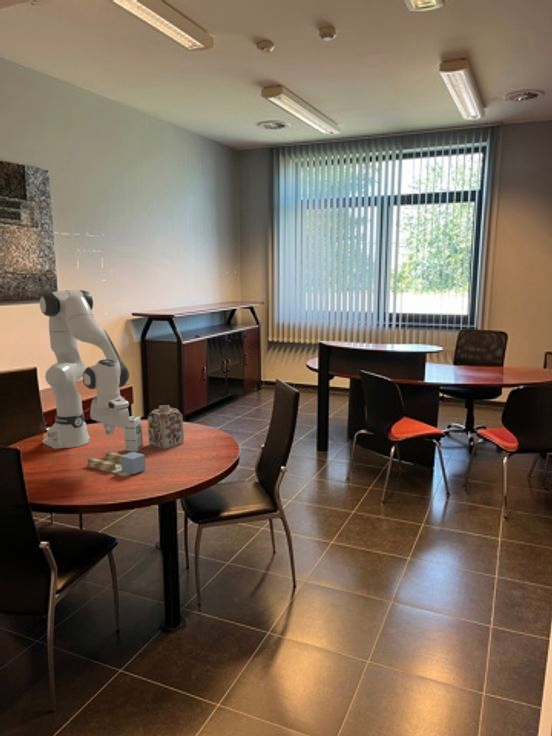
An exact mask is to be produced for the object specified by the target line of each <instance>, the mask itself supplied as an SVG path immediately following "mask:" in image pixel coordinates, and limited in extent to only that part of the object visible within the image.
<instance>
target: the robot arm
mask: <svg viewBox="0 0 552 736" xmlns="http://www.w3.org/2000/svg"><path fill="white" fill-rule="evenodd" d="M93 307H94V300H93V296H92V294H91V293H90V292H89V291H87V290H71V289H69V290H67V289H65V290H58V291H47V292H44V293H42V294H41V295H40V298H39V309H40V311H41V313H42V314H43V315H44V316H46V317H48V331H49V341H50V342H49V343H50V349H51V351H52V352H53V353H54V356H55V358H56V363H54V364H52V365H51V366H50V367H49V368H48V369H47V370H46V372H45V378H44V379H45V381H46V383H47V385H48V386H49V387H51V390H52V393H53V395H54V398H55V399H54V400H55V405H56V414H55V415H54V421H55V423H54V424H52V426H50V427H49V428H48V429H47V438H45V439H42V444H44V445H47V446H49V447H50V448H51V449H53V450H55V449H57V450H59V449H66V448H67V449H69V448H71V449H72V448H77V447H81V446H84V445H87V444H88V443H89V442H90V440H91V435H89V433H88V426H87V423H86V422H85V412H84V411H83V402H82V401H83V400H82V395H81V394H80V393H79V391H78V389H77V385H76V382H78V381H80V380H81V379H82V383H83V385H84V386H85V387H86V388H88V389H89V390H96V391H97V392H96V397H94V398H93V399H92V400H91V404H90V411H89V412H90V415H89V416H90V419H91V420H93V421H96V422H99V423H102V425H103V428H104V430H105V432H104V433H105V434H106V435H110V436H112V435H114V434H115V433H114V430H115V428H116V427H117V428H120V429H122V428H123V429H124V427H127V426H128V425H129V417H130V412H129V406H130V402H129V401H128V400H126V399H125V398H124V397H123V396H122V395H121V391H120V388H122V387H124V386H125V385H126V384H127V382H128V381H129V379H130V371H129V370H128V369H129V368H128V367H127V366H126V364H125V363H124V362H123V361H122V359H121V356H120V355H119V352H118V351H117V349H116V347H115V344H114V342H113V340H112V338H111V337H110V335H109V334H108V332H107V330H105V329H103V328H101V327H100V325H99V324H98V322H97V321H96V319H95V316H94V313H93V311H92V310H93ZM78 341H80V342H83V343H87V344H91V345H94V346H96V347H98V348H99V349H100V350H101V351H102V354H103V355H104V357H105V359H100V360H98V361H97V363H96V364H94V365H90V366H87V367H86V364H85V363H84V362H83V361H82V359H81V356H80V352H79V348H78V343H77V342H78Z"/></svg>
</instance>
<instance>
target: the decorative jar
mask: <svg viewBox="0 0 552 736" xmlns="http://www.w3.org/2000/svg"><path fill="white" fill-rule="evenodd" d="M147 433H148V445H150V446H153V447H156V448H159V449H162V450H167V449H170V448H173V447H176V446H179V445H182V444H184V441H185V438H184V437H185V436H184V435H185V433H184V421H183V414H182V412H180V411H179V409H177V408H174V407H170V405H167V404H165V405H159V407H158V408H156V409H153V410H152V411H150V413H149V414H148V416H147Z"/></svg>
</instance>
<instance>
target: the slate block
mask: <svg viewBox="0 0 552 736" xmlns="http://www.w3.org/2000/svg"><path fill="white" fill-rule="evenodd" d="M121 455H122V456H121V465H122V471H125V472H128V473H132V474H131V475H135V474H137V473H140V472H142V471H145V470H146V469H147V468H146V467H147V466H146V455H145V454H144V453H139V452H137V451H130V452H128V453H125V454H121Z"/></svg>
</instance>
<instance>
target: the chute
mask: <svg viewBox="0 0 552 736" xmlns="http://www.w3.org/2000/svg"><path fill="white" fill-rule="evenodd" d="M104 455H105V458H102V459H100V458H94V457H92V456H91V457H88V458H87V467H90V468H93V469H97V470H101V471H104V472H107V473H111V474H114V475H117V476H122V477H128V476H130V475H133V474H132V473H128V472H125V471H122V465H121V456H122V455H123V454H121V453H117V452H113V451H105V452H104ZM146 469H148V466H146Z"/></svg>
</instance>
